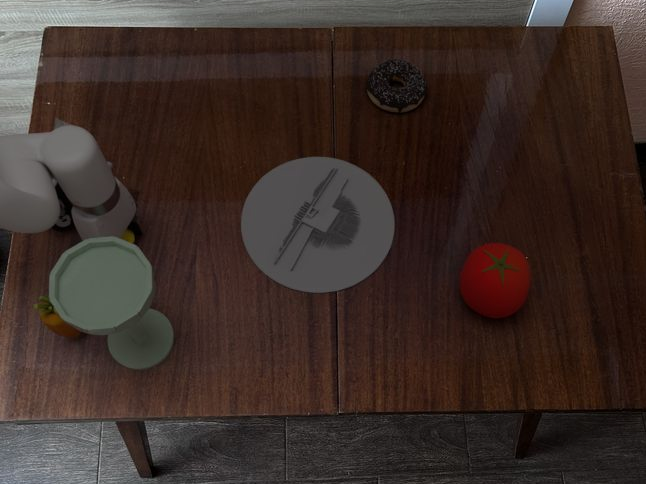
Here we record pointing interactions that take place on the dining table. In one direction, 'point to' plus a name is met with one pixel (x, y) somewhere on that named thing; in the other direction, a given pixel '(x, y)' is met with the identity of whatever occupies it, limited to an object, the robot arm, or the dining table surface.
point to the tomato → (495, 280)
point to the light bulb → (128, 236)
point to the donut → (396, 97)
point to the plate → (317, 224)
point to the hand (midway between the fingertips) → (125, 246)
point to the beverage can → (63, 210)
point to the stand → (143, 342)
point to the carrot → (54, 319)
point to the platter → (102, 285)
